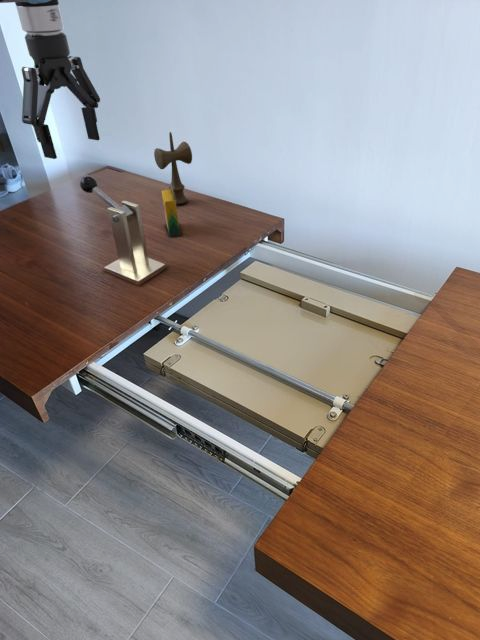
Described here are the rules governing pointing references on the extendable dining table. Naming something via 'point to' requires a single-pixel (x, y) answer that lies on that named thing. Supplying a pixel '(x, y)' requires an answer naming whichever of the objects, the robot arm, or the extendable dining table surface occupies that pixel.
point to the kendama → (174, 166)
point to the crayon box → (170, 212)
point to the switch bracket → (131, 247)
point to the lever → (103, 195)
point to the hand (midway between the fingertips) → (73, 148)
